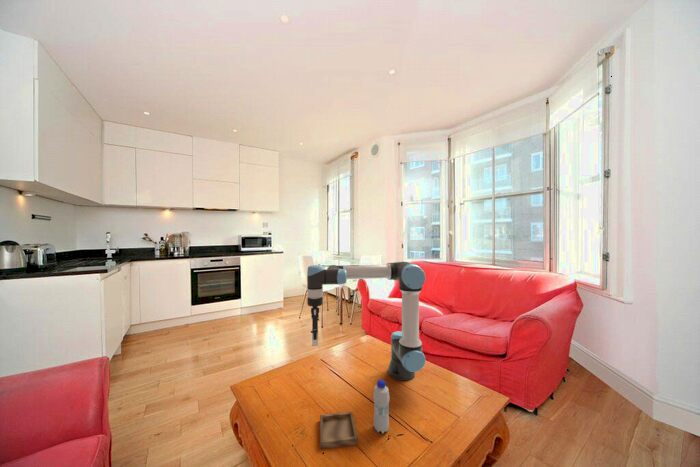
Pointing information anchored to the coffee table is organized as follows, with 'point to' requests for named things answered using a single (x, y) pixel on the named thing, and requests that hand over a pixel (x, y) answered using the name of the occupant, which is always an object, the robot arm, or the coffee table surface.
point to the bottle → (381, 406)
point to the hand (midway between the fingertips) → (315, 339)
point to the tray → (337, 430)
